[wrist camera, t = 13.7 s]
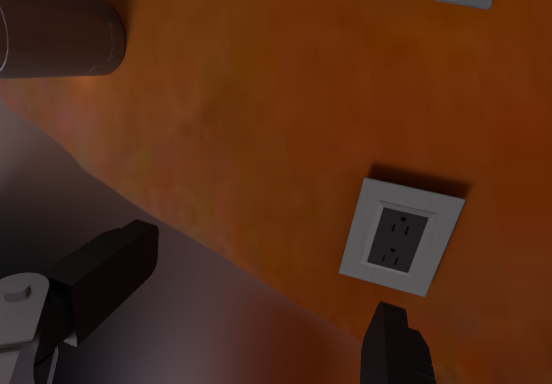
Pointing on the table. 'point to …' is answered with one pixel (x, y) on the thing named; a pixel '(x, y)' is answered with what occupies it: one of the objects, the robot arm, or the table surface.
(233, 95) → the table surface
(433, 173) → the table surface
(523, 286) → the table surface
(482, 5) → the grey tray
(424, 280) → the electrical outlet
